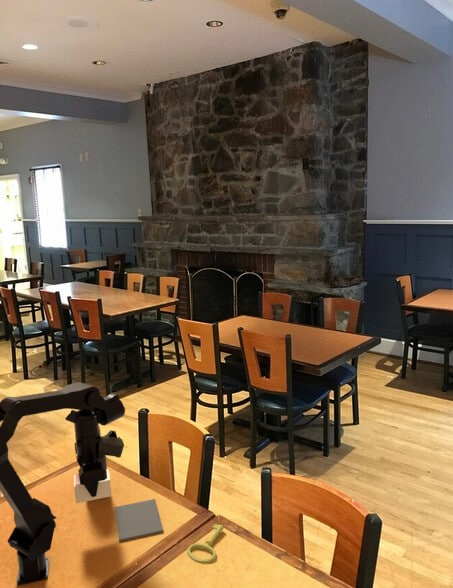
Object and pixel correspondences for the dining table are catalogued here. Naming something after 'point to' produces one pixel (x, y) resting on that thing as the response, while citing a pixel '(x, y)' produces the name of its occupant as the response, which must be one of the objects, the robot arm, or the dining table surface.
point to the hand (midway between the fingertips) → (92, 489)
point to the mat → (138, 520)
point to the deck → (84, 495)
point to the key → (206, 546)
